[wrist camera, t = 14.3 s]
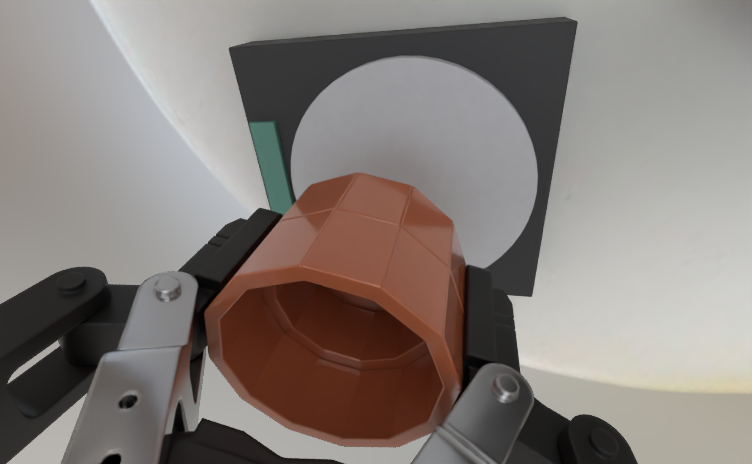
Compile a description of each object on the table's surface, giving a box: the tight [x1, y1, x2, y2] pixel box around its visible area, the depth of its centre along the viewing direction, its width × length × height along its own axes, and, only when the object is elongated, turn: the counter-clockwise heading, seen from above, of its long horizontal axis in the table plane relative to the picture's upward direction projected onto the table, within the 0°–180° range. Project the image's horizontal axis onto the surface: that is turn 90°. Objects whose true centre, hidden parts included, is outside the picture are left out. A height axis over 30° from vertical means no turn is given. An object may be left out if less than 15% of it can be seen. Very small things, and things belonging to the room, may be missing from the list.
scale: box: [229, 17, 577, 297], centre depth 18 cm, size 13×12×3 cm
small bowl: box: [204, 172, 466, 447], centre depth 11 cm, size 6×6×5 cm
